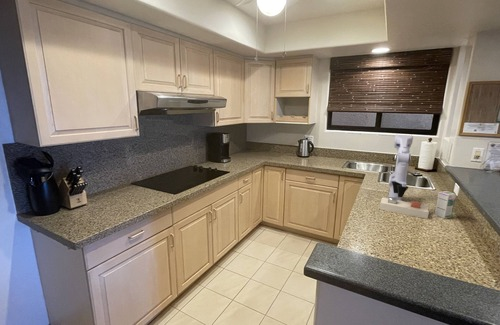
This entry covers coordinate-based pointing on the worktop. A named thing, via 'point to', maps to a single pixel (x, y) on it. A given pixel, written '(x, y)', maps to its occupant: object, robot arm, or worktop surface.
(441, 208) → the syrup box
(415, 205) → the red button
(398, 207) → the control box
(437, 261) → the worktop surface
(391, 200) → the grey button
